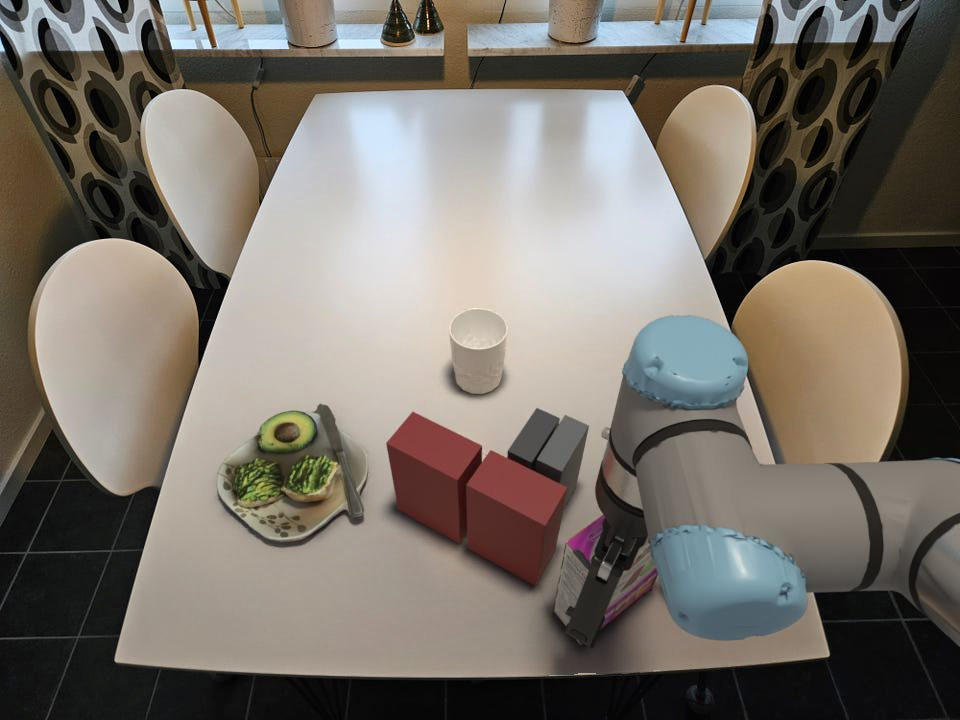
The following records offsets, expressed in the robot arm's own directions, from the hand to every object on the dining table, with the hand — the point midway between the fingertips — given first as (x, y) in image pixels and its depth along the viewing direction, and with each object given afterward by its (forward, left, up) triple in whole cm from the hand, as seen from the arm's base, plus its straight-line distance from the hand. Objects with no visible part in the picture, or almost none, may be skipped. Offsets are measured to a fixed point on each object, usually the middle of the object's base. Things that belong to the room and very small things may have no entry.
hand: (607, 584), depth 69 cm
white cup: (+21, +28, -4) cm, 36 cm away
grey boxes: (+8, +3, -4) cm, 9 cm away
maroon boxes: (0, +16, -4) cm, 17 cm away
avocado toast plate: (-5, +40, -4) cm, 41 cm away
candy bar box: (0, 0, -4) cm, 4 cm away
